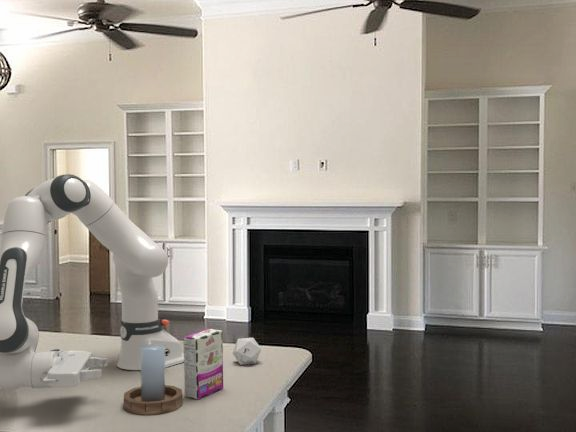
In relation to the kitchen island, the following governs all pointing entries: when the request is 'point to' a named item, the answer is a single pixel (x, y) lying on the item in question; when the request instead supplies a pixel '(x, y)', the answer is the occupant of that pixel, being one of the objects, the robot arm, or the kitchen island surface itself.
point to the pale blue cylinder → (152, 373)
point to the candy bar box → (203, 363)
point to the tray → (152, 402)
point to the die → (246, 351)
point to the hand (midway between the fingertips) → (104, 367)
